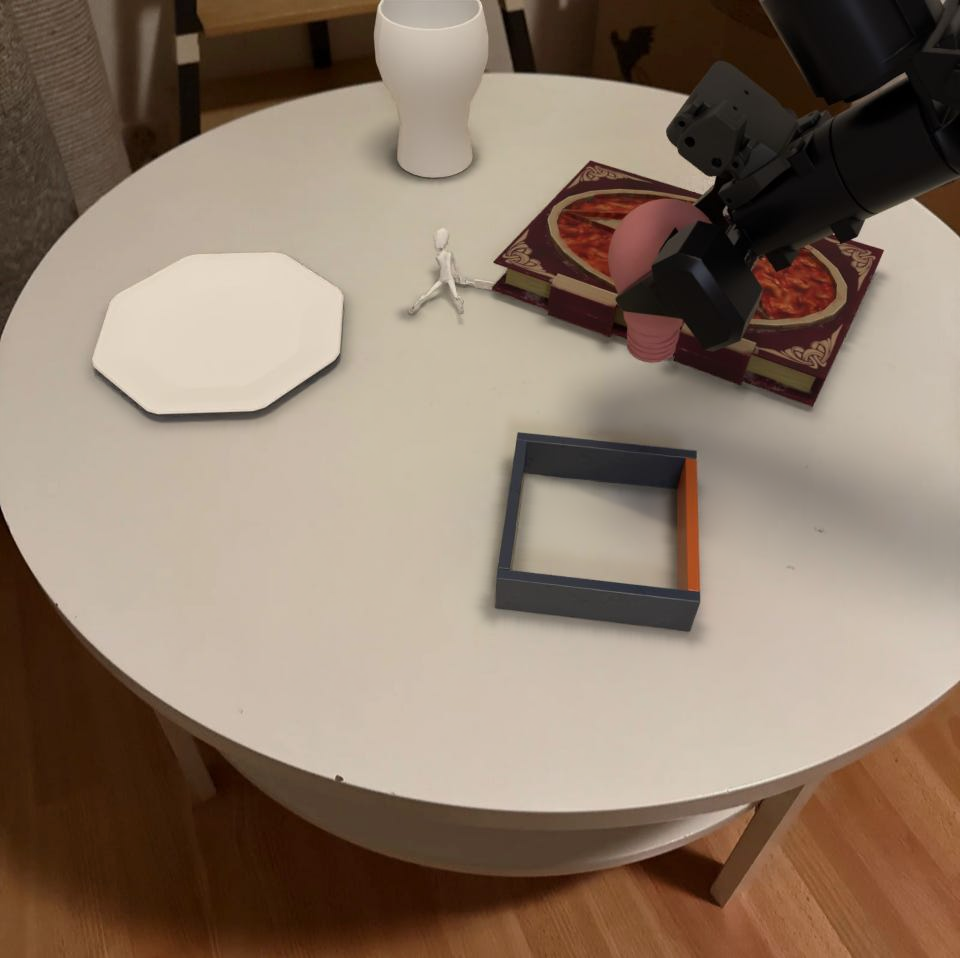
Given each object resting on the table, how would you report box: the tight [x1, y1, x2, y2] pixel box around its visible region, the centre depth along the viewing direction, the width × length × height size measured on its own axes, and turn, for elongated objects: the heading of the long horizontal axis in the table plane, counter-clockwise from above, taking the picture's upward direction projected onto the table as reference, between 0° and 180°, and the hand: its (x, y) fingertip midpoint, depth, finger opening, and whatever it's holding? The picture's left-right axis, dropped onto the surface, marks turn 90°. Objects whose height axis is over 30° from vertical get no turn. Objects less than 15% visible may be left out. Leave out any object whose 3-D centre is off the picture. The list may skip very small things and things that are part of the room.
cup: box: [373, 0, 489, 179], centre depth 89 cm, size 11×11×15 cm
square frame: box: [494, 431, 701, 632], centre depth 62 cm, size 13×13×4 cm
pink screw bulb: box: [608, 199, 712, 364], centre depth 61 cm, size 7×7×12 cm
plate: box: [91, 251, 345, 417], centre depth 77 cm, size 20×20×2 cm
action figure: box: [407, 226, 497, 315], centre depth 79 cm, size 12×5×7 cm
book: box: [491, 160, 885, 408], centre depth 80 cm, size 28×21×5 cm
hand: (640, 272), depth 61 cm, fingers closed on pink screw bulb, 7 cm apart
